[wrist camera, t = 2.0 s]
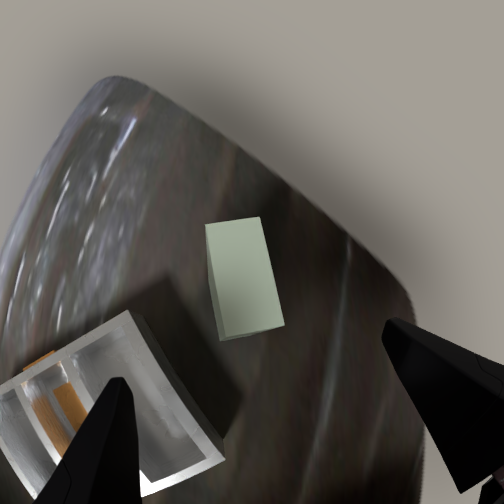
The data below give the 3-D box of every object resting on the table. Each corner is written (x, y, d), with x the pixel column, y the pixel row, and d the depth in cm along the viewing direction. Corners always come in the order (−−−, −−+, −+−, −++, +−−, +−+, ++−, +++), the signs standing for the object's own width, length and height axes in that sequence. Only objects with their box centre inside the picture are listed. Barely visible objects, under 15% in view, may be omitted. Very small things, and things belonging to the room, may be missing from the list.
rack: (223, 439, 16) (225, 459, 13) (70, 501, 12) (50, 519, 9) (141, 312, 19) (125, 304, 15) (3, 392, 14) (-25, 395, 11)
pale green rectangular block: (249, 335, 19) (284, 325, 10) (219, 341, 19) (225, 337, 9) (237, 278, 20) (259, 216, 11) (208, 283, 20) (205, 224, 10)
